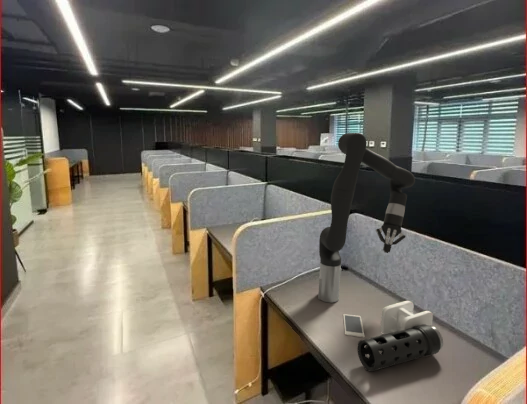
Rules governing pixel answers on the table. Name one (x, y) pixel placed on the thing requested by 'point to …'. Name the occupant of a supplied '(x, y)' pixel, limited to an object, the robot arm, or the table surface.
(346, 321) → the phone
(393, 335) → the muzzle brake
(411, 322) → the white toothbrush holder
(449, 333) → the table surface
